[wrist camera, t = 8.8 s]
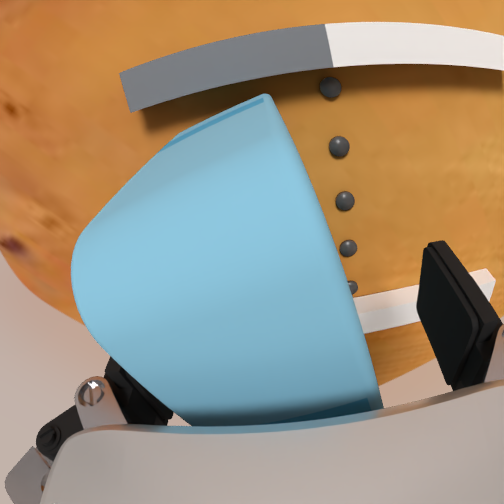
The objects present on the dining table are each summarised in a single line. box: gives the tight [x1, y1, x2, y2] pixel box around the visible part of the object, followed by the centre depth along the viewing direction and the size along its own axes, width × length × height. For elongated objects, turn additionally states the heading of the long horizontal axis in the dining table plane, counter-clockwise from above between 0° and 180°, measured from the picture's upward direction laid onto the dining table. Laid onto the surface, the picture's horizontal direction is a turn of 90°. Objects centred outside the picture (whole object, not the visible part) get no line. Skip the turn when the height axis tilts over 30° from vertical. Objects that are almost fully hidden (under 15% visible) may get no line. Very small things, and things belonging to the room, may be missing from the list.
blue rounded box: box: [71, 94, 384, 427], centre depth 12 cm, size 12×4×12 cm, turn 25°
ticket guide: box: [119, 22, 504, 334], centre depth 16 cm, size 20×18×2 cm
